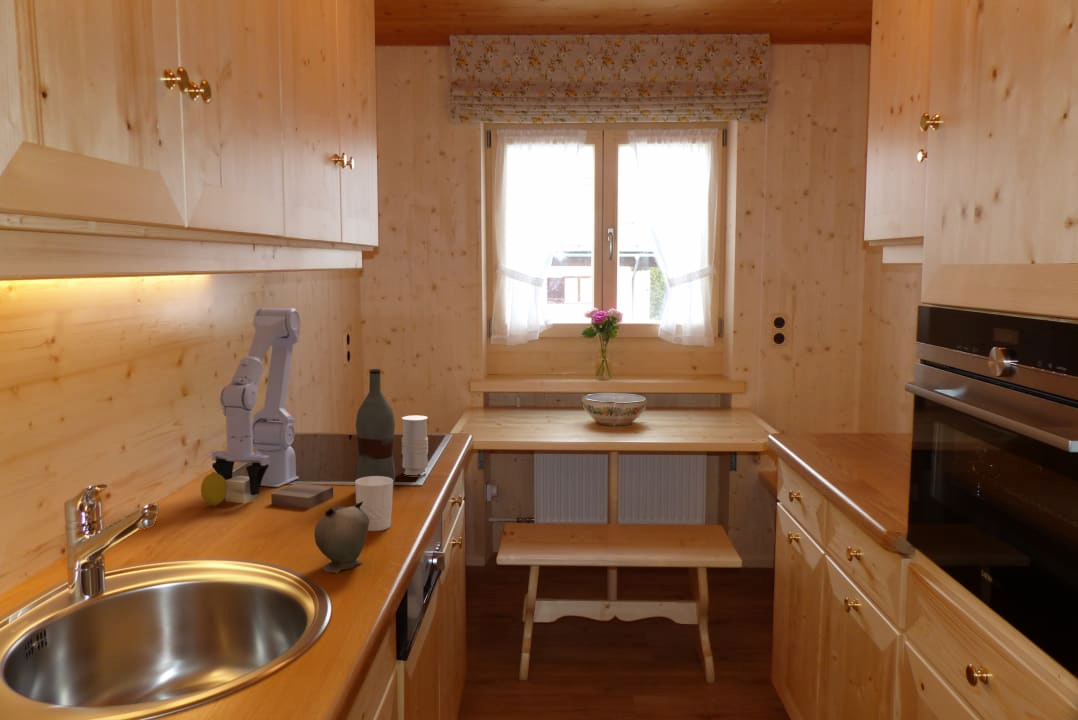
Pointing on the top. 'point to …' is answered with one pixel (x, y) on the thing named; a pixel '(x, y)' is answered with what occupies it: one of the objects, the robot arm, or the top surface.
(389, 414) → the bottle
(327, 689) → the top surface
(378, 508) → the white cup
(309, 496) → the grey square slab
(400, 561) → the top surface
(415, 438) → the stack of cups
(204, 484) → the lemon
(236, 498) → the maple cube
